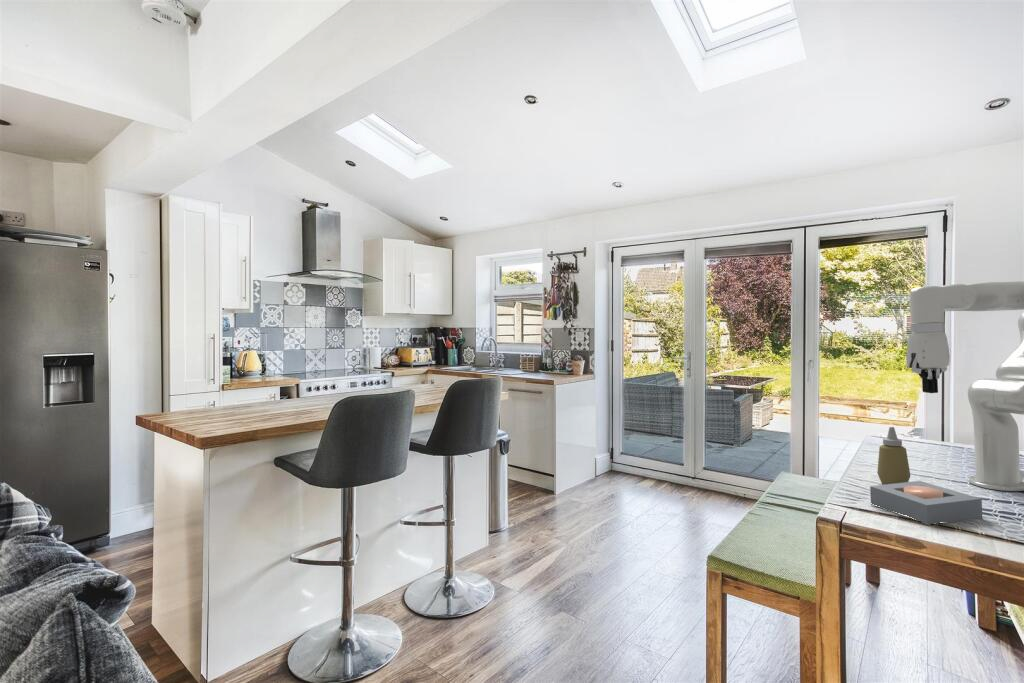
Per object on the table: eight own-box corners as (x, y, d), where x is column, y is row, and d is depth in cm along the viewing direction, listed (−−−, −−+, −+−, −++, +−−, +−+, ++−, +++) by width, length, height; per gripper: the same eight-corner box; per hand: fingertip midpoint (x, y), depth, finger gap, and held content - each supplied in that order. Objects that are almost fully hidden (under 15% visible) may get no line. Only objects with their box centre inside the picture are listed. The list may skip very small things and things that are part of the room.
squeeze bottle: (897, 491, 146) (895, 430, 146) (871, 484, 154) (868, 426, 154) (918, 488, 149) (915, 428, 148) (890, 481, 156) (888, 423, 156)
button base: (920, 498, 140) (919, 480, 140) (982, 518, 124) (981, 498, 124) (870, 504, 138) (870, 486, 138) (927, 525, 122) (926, 505, 122)
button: (922, 502, 135) (921, 484, 135) (952, 512, 128) (951, 493, 128) (896, 505, 134) (895, 487, 134) (925, 516, 126) (924, 496, 126)
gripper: (936, 328, 149) (939, 389, 149) (893, 330, 146) (895, 392, 147) (963, 327, 141) (965, 392, 141) (917, 330, 139) (920, 395, 139)
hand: (930, 392), depth 144 cm, fingers closed
